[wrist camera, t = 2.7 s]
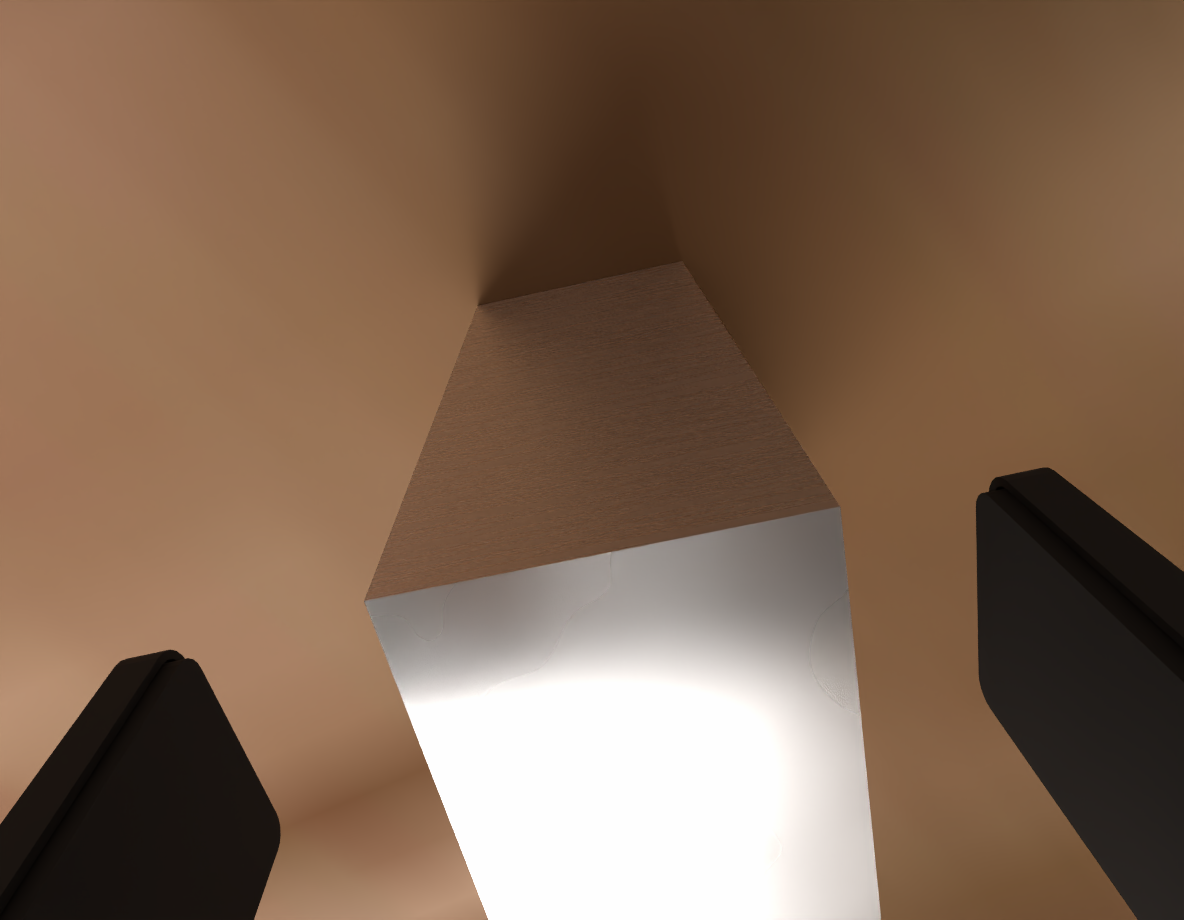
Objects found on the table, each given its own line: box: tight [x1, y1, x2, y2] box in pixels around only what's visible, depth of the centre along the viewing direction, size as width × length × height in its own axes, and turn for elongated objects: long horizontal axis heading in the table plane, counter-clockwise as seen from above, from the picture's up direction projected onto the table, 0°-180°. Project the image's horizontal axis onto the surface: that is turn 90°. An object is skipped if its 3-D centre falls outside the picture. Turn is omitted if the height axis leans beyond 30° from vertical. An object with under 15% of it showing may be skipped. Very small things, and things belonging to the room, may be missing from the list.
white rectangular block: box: [364, 261, 881, 920], centre depth 13 cm, size 4×6×10 cm, turn 12°
